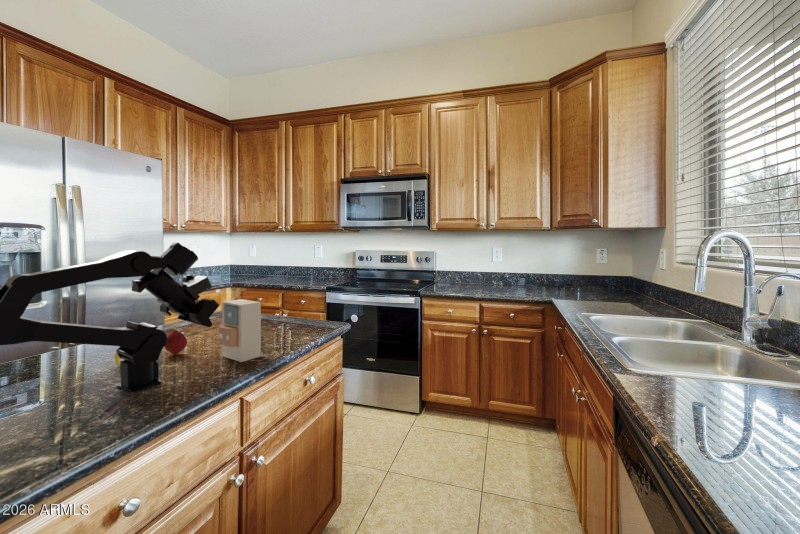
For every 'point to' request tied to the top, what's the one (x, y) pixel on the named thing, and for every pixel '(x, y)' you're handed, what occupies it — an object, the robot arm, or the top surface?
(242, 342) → the box
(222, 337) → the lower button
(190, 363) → the top surface
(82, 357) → the top surface
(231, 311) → the upper drawer
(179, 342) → the onion
